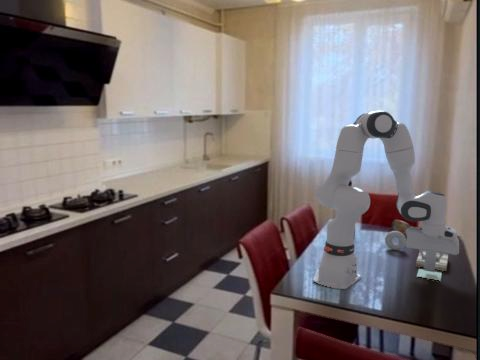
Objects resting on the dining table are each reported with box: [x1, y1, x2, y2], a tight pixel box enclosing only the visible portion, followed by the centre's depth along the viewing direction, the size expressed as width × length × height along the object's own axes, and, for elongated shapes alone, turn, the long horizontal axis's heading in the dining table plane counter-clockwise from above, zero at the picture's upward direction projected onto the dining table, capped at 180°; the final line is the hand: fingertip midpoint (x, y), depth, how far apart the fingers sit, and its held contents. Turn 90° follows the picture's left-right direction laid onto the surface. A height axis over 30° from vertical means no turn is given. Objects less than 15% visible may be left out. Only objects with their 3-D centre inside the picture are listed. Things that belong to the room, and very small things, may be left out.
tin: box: [391, 219, 411, 238], centre depth 222 cm, size 15×3×8 cm, turn 10°
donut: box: [384, 230, 407, 251], centre depth 197 cm, size 10×4×10 cm, turn 69°
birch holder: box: [415, 250, 449, 272], centre depth 180 cm, size 16×12×3 cm
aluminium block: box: [423, 250, 438, 272], centre depth 165 cm, size 4×4×9 cm
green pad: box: [416, 268, 442, 282], centre depth 166 cm, size 9×9×1 cm
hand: (430, 260), depth 165 cm, fingers closed on aluminium block, 4 cm apart
